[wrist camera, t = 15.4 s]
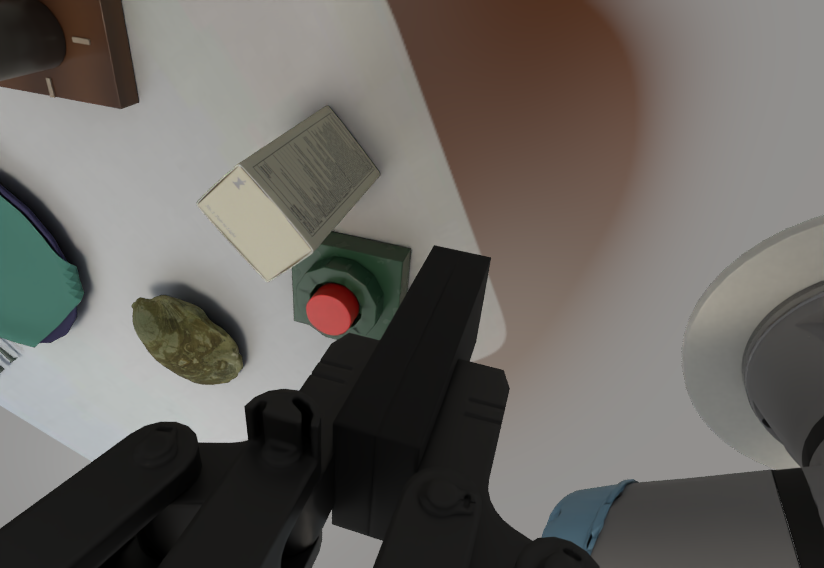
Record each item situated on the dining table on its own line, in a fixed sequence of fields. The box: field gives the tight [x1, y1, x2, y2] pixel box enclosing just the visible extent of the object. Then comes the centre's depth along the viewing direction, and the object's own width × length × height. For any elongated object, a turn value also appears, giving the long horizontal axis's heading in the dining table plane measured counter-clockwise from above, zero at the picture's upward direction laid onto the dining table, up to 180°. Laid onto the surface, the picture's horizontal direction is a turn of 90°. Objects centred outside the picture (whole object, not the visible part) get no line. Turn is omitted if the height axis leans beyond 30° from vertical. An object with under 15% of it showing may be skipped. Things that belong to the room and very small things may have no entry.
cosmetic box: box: [197, 106, 380, 282], centre depth 37 cm, size 6×4×12 cm
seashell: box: [132, 295, 243, 385], centre depth 54 cm, size 10×7×10 cm
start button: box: [306, 283, 359, 335], centre depth 43 cm, size 4×4×2 cm
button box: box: [292, 232, 411, 340], centre depth 45 cm, size 9×8×4 cm
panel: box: [0, 0, 139, 109], centre depth 42 cm, size 12×9×2 cm
